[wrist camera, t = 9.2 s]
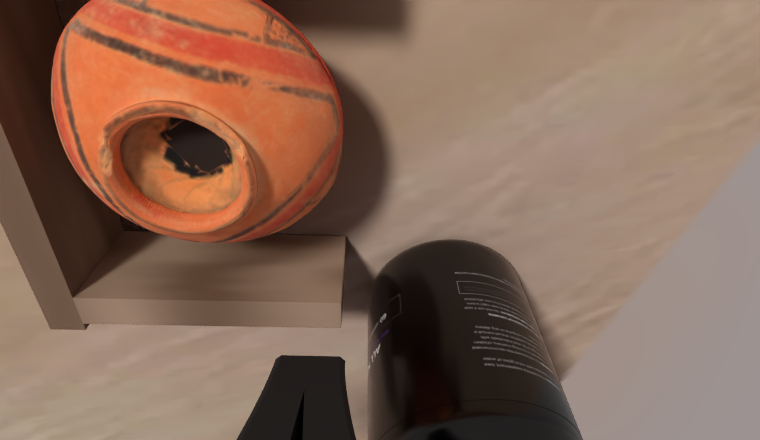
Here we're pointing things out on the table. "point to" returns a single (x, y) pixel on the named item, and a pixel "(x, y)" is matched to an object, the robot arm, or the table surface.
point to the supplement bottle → (459, 351)
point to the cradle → (131, 248)
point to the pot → (197, 115)
